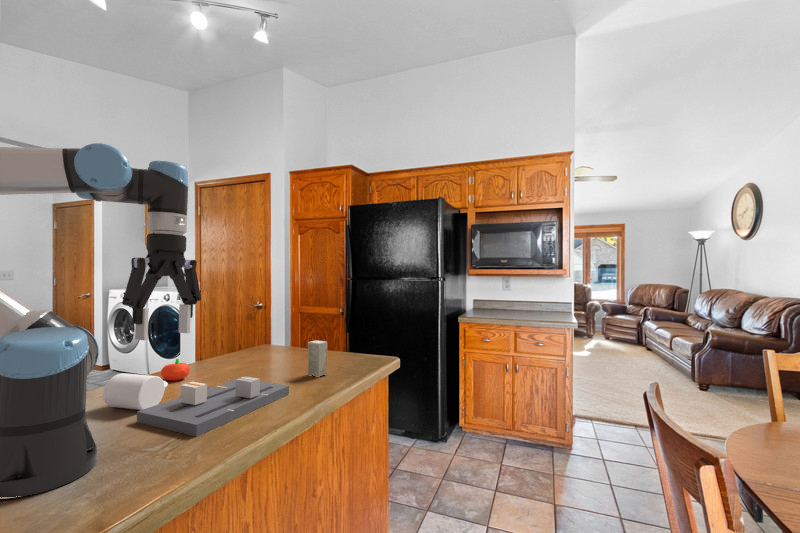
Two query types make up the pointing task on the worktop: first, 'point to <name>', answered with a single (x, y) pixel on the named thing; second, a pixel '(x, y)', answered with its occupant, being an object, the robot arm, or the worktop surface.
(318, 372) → the box
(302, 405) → the worktop surface
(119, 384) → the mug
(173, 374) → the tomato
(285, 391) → the console
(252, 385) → the fader
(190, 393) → the fader
